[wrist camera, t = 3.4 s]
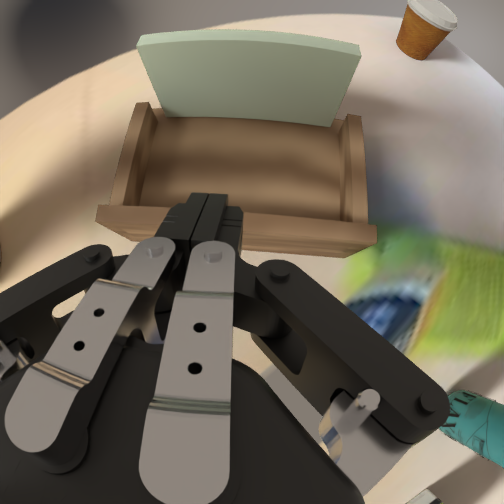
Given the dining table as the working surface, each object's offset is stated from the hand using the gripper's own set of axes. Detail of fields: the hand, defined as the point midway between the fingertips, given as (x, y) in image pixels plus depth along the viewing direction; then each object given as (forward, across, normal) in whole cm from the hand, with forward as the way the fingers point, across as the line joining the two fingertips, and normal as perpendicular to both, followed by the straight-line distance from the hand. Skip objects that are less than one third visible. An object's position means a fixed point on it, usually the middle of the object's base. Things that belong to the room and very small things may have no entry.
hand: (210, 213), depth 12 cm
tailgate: (+24, 0, -1) cm, 24 cm away
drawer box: (+21, 0, +7) cm, 22 cm away
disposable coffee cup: (+44, -28, -15) cm, 54 cm away
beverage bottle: (+2, -30, +26) cm, 40 cm away
